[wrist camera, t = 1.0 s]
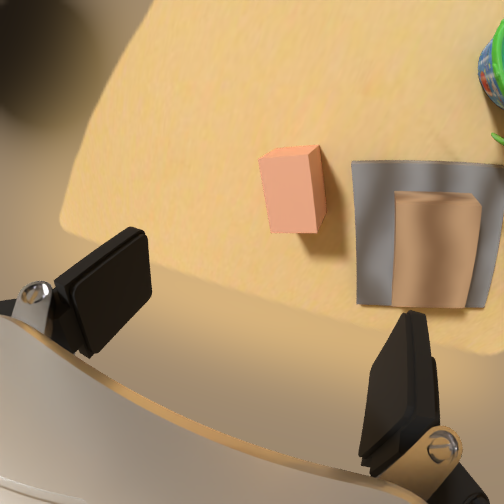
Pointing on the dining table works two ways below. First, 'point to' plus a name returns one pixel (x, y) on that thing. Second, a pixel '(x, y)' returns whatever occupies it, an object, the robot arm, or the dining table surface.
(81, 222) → the dining table surface
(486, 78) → the snack cup
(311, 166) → the brick
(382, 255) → the base
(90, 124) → the dining table surface
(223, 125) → the dining table surface
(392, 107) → the dining table surface
